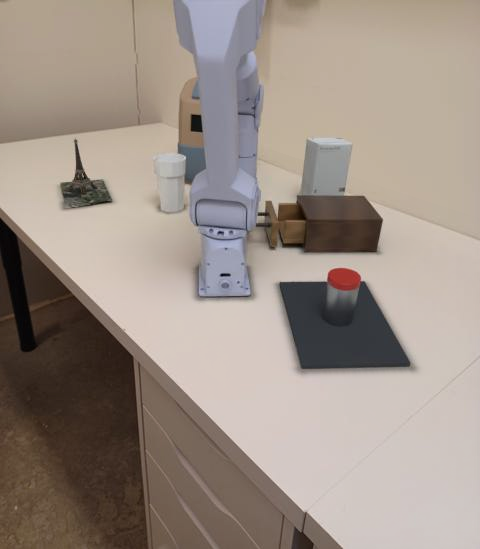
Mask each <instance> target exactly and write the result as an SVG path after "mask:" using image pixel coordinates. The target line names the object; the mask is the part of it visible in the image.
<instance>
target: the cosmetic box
mask: <svg viewBox="0 0 480 549" xmlns="http://www.w3.org/2000/svg"><path fill="white" fill-rule="evenodd" d="M353 146H354V145H353V142H351V141H349V140H346V139H344V138H342V137H307V138H306V142H305V151H304V160H303V168H302V177H301V185H300V193H299V195H332V196H345V192H346V185H347V181H348V180H347V179H348V174H349V167H350V164H351V163H350V162H351V156H352V151H353V150H352V149H353Z"/></svg>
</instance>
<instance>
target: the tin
mask: <svg viewBox="0 0 480 549" xmlns="http://www.w3.org/2000/svg"><path fill="white" fill-rule="evenodd" d="M326 277H327V278H326V282H327V286H326V293H325V299H324V306H323V313H322V317H323V319H324V320H325V321H326V322H327V323H329V324H331V325H334V326H347V325H349V324H351V323H352V321H353V317H354V312H355V307H356V301H357V296H358V291H359V286H360V282H361V281H362V276H361V275H360V273H358V272H357V271H356V270H353V269H351V268H346V267H335V268H332V269H330V270H329V271H328V272H327V276H326Z"/></svg>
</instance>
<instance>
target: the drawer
mask: <svg viewBox="0 0 480 549" xmlns="http://www.w3.org/2000/svg"><path fill="white" fill-rule="evenodd" d="M277 207H278V208H277V213H276V209H275V207H274V203H273V200H265V204H264V211H258V217H264V221H263V222H257V223H256V227H255V228H265V231H266V234H267V238H268V242H269V245H270V247H277V246H278V240H279V238H278V237H279V233H280V237H281V239H282V242H283V244H301V243H305V234H306V225H307V220H306V218H305V216H304V214H303V212H302V210H301V208H300V205H299V203H296V202H278V206H277Z"/></svg>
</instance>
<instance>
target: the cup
mask: <svg viewBox="0 0 480 549" xmlns="http://www.w3.org/2000/svg"><path fill="white" fill-rule="evenodd" d="M152 160H153V169H154V173H155V175H156V180H157V190H158V198H159V209H160V210H161V212H166V213H179V212H181V211H182V210H184V209H185V205H184V204H185V180H184V175H185V172H186V157H185V156H184V155H181V154H178V153H176V152H165V153H164V152H163V153H159V154H156V155H154V156H153V158H152Z"/></svg>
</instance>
